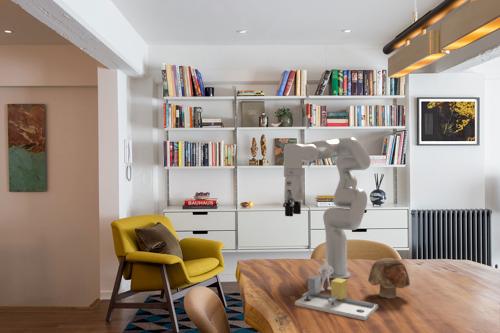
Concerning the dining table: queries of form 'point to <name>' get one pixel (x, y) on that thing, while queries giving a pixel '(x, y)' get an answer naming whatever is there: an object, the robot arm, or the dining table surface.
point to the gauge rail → (315, 290)
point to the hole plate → (337, 307)
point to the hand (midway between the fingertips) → (293, 215)
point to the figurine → (325, 274)
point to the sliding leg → (338, 290)
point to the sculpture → (389, 276)
